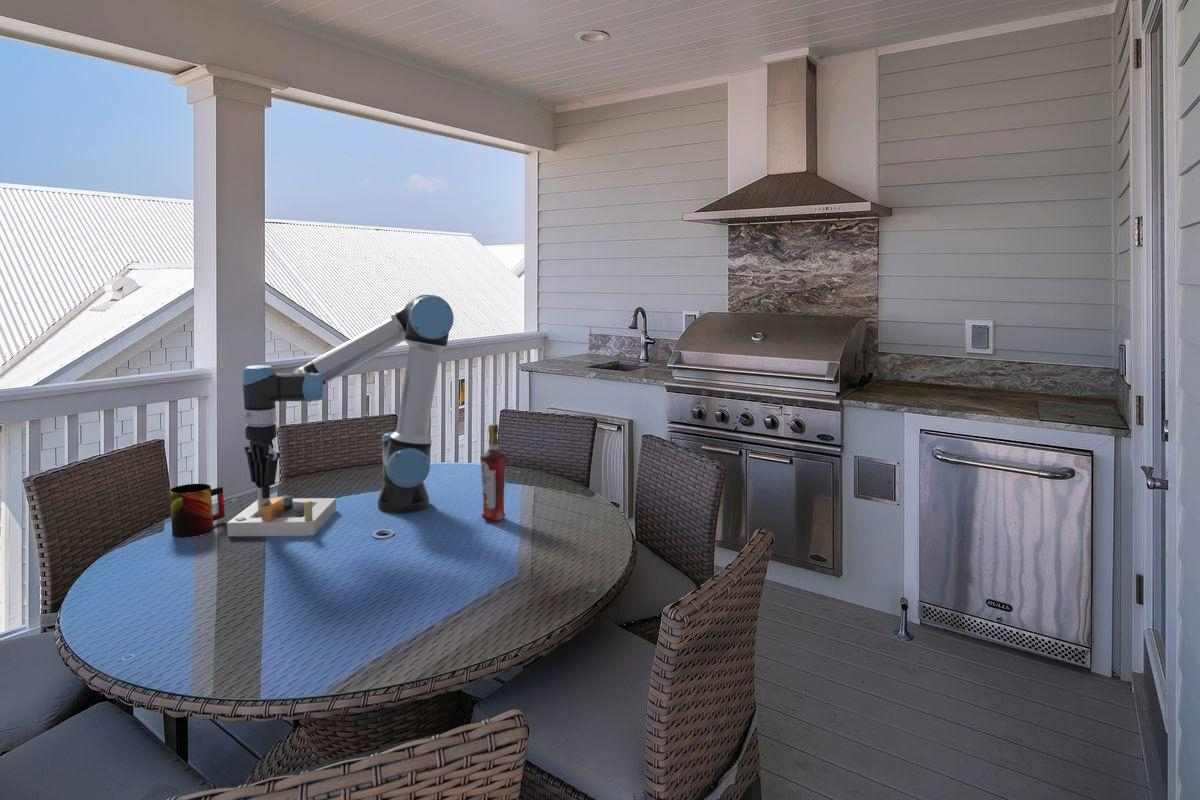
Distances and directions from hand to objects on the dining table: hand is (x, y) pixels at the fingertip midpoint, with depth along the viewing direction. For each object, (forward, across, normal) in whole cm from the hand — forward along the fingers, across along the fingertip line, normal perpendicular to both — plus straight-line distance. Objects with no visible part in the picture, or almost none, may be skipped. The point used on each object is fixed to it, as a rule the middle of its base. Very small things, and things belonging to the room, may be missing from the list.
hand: (264, 509), depth 194 cm
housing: (+6, -2, +7) cm, 9 cm away
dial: (+4, 0, +5) cm, 6 cm away
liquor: (+5, +43, +44) cm, 62 cm away
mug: (+7, -16, -10) cm, 20 cm away
